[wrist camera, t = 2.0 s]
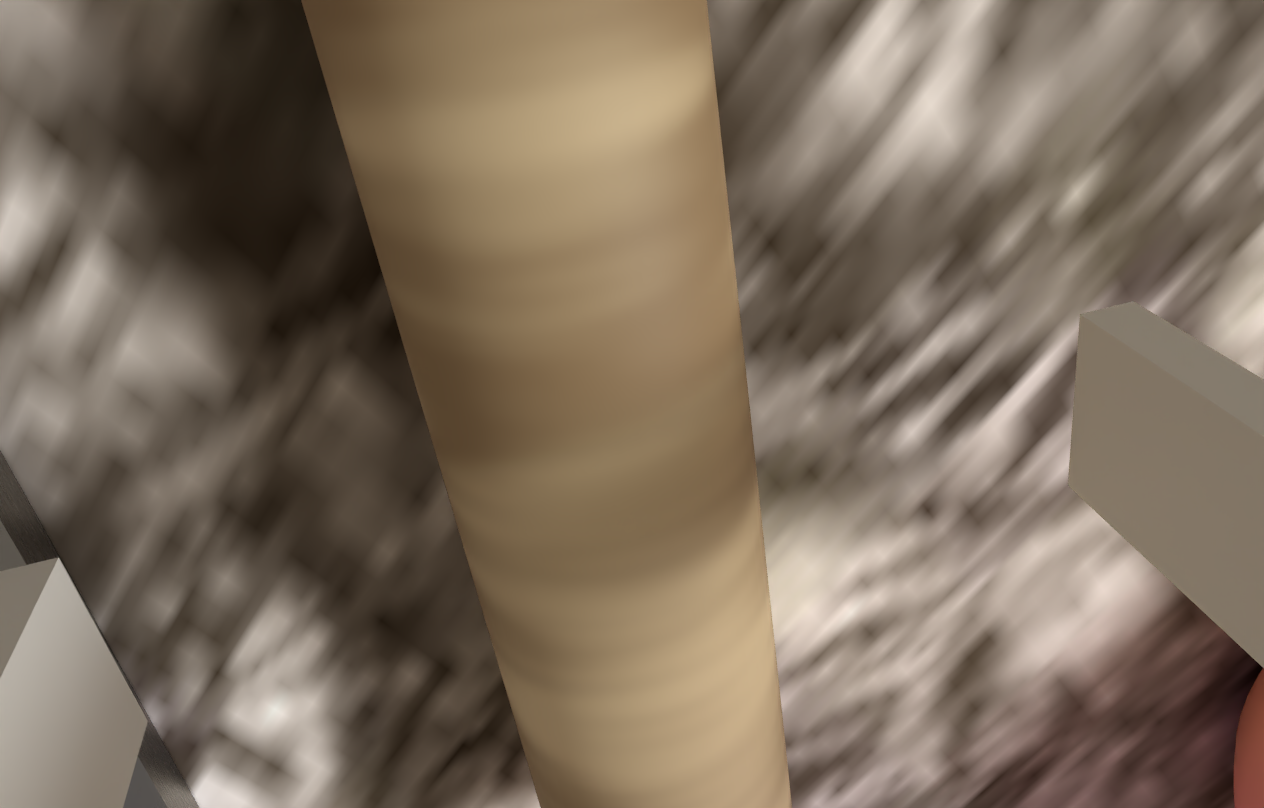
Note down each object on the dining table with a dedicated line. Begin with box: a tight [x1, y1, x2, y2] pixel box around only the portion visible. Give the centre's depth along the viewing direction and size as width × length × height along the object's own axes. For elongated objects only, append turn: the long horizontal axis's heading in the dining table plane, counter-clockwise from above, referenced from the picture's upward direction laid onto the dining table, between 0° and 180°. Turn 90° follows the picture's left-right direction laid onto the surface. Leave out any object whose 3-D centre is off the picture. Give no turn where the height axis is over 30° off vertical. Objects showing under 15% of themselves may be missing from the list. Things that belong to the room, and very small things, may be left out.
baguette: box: [301, 0, 792, 808], centre depth 16 cm, size 22×5×5 cm, turn 9°
